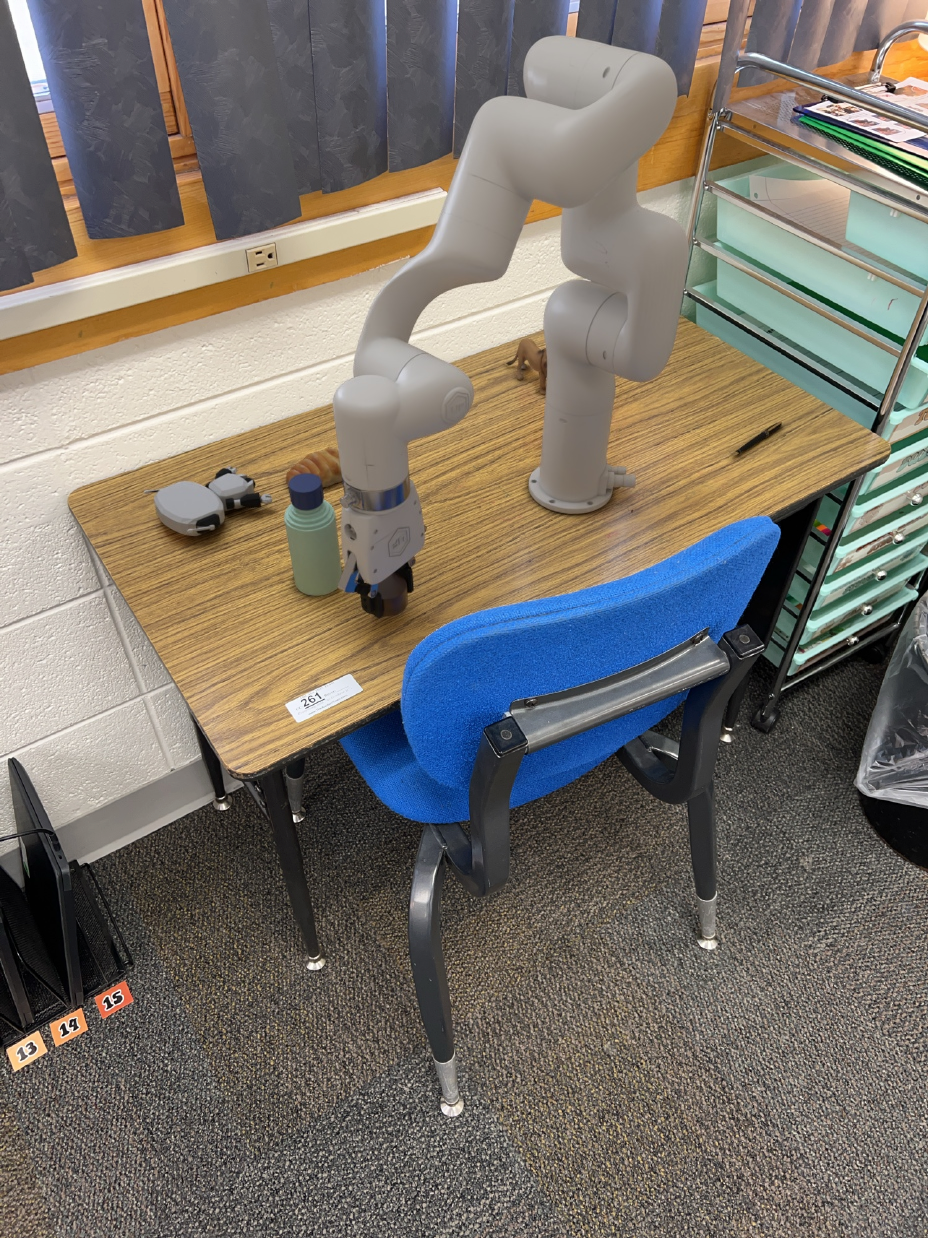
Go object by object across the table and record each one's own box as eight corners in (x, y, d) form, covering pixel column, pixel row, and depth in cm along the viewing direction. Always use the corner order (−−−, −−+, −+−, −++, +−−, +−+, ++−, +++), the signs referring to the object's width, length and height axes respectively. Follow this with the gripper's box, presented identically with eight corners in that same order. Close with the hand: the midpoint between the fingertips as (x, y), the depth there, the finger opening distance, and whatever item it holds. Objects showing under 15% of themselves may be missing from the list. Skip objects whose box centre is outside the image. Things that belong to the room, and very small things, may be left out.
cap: (326, 491, 115) (324, 473, 113) (320, 511, 112) (318, 493, 110) (294, 490, 115) (292, 472, 114) (288, 509, 113) (285, 491, 111)
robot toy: (233, 480, 141) (144, 514, 133) (230, 454, 138) (138, 488, 130) (279, 516, 134) (188, 555, 126) (277, 490, 131) (183, 528, 123)
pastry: (301, 501, 136) (297, 479, 133) (277, 480, 139) (274, 459, 137) (353, 477, 140) (351, 456, 137) (329, 458, 144) (327, 437, 141)
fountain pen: (733, 461, 143) (735, 453, 142) (727, 458, 144) (729, 450, 143) (784, 427, 150) (786, 419, 149) (777, 424, 151) (780, 416, 150)
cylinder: (410, 589, 118) (408, 572, 116) (405, 617, 114) (404, 600, 112) (371, 588, 118) (369, 571, 116) (365, 615, 115) (363, 598, 113)
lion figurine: (577, 392, 158) (582, 344, 152) (557, 403, 155) (561, 355, 149) (515, 361, 165) (518, 314, 159) (495, 371, 163) (496, 324, 157)
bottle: (346, 565, 125) (335, 471, 114) (338, 597, 121) (326, 502, 110) (300, 563, 126) (285, 469, 115) (290, 594, 121) (274, 500, 110)
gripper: (347, 536, 97) (363, 652, 110) (450, 461, 106) (453, 576, 119) (298, 508, 100) (319, 624, 113) (402, 438, 109) (410, 553, 122)
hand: (387, 598), depth 116 cm, fingers closed on cylinder, 5 cm apart
